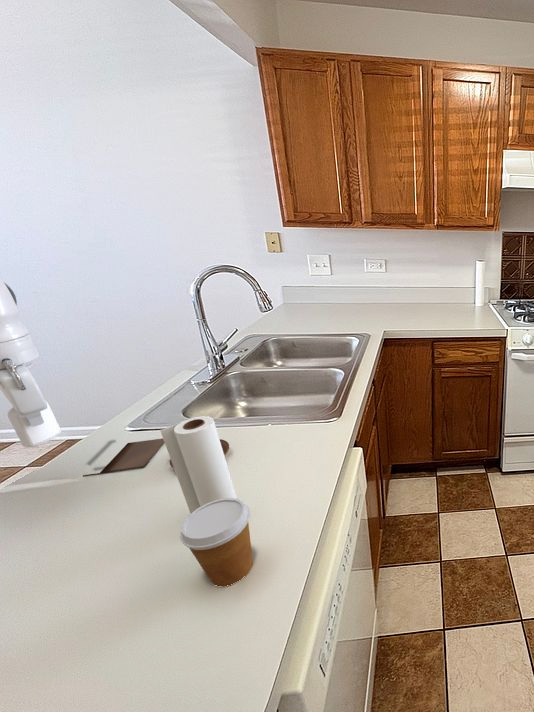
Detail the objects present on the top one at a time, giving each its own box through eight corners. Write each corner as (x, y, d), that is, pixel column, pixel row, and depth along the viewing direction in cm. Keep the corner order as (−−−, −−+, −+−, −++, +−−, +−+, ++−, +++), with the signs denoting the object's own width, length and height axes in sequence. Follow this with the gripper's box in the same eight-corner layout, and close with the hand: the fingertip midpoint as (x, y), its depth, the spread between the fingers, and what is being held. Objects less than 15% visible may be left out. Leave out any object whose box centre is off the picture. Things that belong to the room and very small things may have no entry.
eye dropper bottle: (66, 436, 80) (40, 383, 75) (26, 450, 75) (-4, 394, 71) (59, 429, 82) (34, 377, 77) (20, 443, 77) (-9, 388, 73)
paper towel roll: (247, 507, 81) (221, 417, 73) (222, 529, 76) (191, 435, 68) (219, 500, 83) (191, 412, 75) (193, 521, 78) (159, 428, 70)
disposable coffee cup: (190, 603, 62) (166, 547, 58) (209, 554, 71) (190, 502, 66) (256, 588, 65) (239, 533, 60) (268, 542, 73) (253, 491, 68)
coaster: (82, 476, 90) (81, 474, 90) (112, 446, 101) (111, 444, 100) (144, 468, 93) (143, 466, 93) (167, 439, 104) (166, 437, 103)
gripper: (39, 361, 68) (71, 429, 74) (14, 338, 79) (43, 399, 84) (-16, 373, 64) (22, 445, 69) (-35, 347, 74) (-1, 411, 80)
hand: (33, 419), depth 77 cm, fingers closed on eye dropper bottle, 4 cm apart
